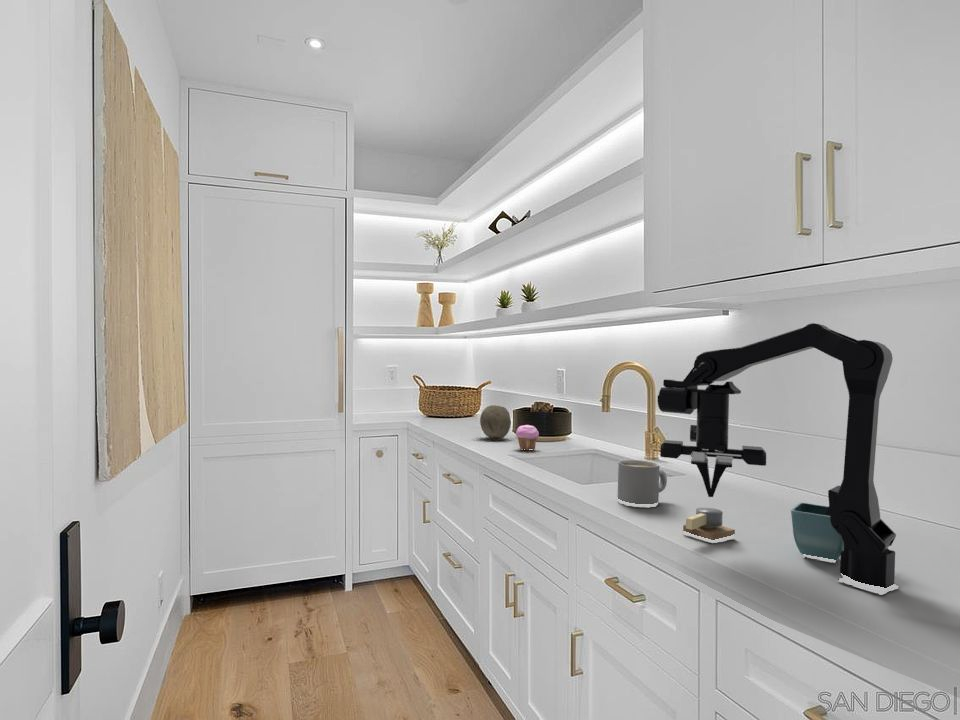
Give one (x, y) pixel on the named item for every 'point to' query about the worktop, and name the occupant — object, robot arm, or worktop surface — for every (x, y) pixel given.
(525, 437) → the cupcake
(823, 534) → the flower pot
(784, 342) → the robot arm
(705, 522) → the toy pan
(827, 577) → the worktop surface
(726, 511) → the worktop surface
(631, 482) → the coffee mug
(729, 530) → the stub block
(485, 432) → the cantaloupe
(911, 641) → the worktop surface
